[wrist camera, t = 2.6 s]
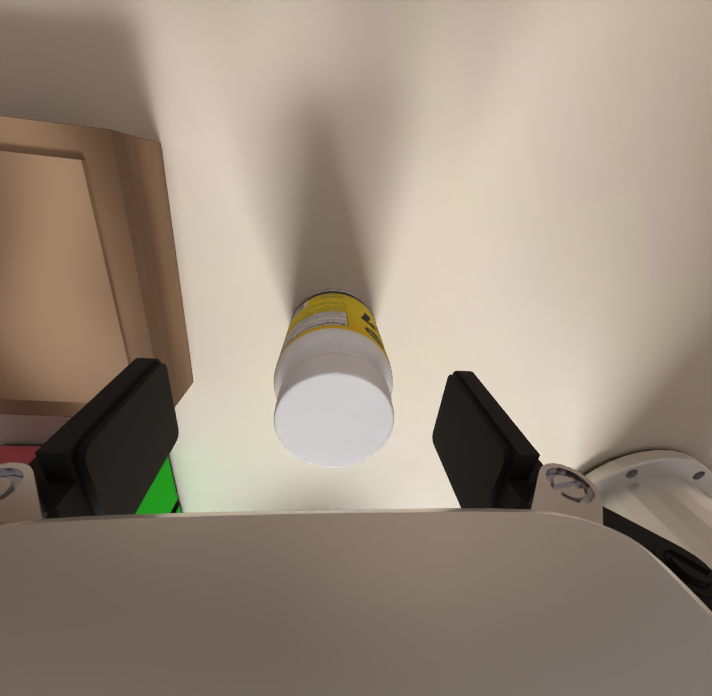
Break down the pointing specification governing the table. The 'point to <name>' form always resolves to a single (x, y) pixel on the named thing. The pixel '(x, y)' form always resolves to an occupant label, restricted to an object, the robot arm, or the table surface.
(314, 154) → the table surface
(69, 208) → the walnut tray
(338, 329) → the supplement bottle
